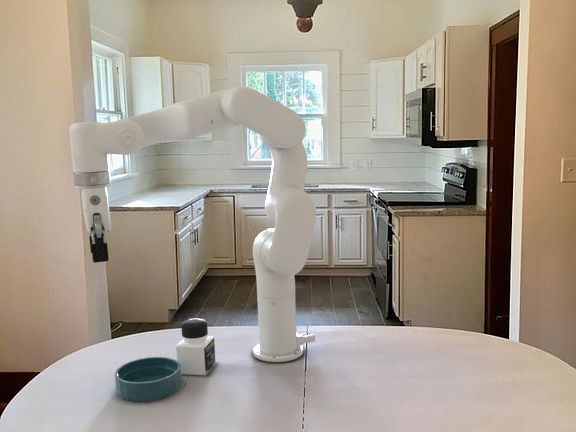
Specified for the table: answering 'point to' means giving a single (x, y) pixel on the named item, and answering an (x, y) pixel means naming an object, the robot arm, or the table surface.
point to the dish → (148, 379)
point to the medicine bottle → (195, 348)
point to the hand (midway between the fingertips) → (99, 257)
